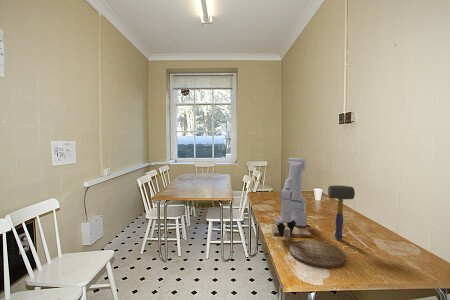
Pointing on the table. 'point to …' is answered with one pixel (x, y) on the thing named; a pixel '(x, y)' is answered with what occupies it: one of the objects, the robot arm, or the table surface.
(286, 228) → the beige block with handle
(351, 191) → the rubber mallet
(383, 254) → the table surface
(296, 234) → the board
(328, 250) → the trivet
